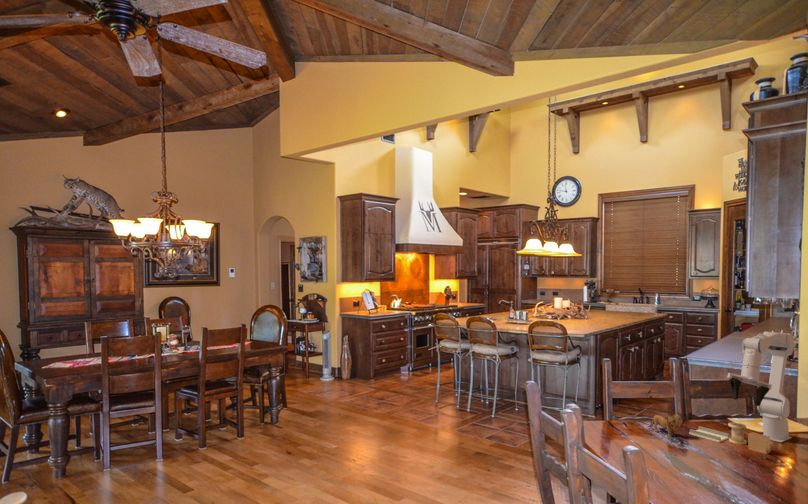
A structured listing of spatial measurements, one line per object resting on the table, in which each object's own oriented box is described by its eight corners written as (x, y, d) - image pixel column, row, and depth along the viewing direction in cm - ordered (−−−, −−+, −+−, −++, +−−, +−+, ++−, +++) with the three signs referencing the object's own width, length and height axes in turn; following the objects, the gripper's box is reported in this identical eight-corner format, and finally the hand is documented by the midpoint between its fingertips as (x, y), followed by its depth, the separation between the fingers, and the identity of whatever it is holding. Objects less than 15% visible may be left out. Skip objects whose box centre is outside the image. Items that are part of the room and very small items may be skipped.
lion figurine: (685, 436, 206) (684, 414, 207) (678, 438, 203) (677, 417, 204) (651, 427, 218) (650, 406, 219) (644, 429, 215) (643, 409, 216)
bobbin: (733, 438, 202) (732, 421, 203) (749, 442, 197) (748, 425, 197) (725, 441, 199) (725, 424, 199) (742, 445, 194) (741, 428, 194)
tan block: (752, 447, 192) (752, 432, 193) (770, 452, 187) (769, 436, 187) (748, 449, 191) (747, 433, 191) (766, 454, 185) (765, 438, 186)
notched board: (700, 430, 213) (700, 425, 213) (730, 438, 203) (730, 433, 203) (689, 434, 209) (688, 429, 209) (718, 442, 198) (718, 437, 198)
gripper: (735, 361, 189) (730, 395, 186) (777, 372, 185) (773, 408, 182) (727, 363, 196) (722, 396, 192) (767, 374, 192) (763, 408, 188)
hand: (746, 402), depth 187 cm, fingers open, 7 cm apart
